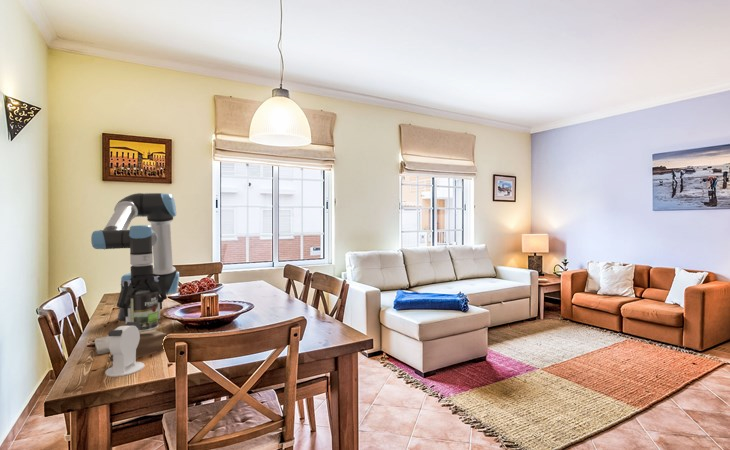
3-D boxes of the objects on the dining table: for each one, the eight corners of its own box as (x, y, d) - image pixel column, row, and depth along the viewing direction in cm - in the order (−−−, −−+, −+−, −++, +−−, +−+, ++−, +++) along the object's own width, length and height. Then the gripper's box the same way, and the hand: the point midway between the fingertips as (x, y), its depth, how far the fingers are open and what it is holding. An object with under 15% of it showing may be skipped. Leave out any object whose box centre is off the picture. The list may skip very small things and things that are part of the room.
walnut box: (120, 352, 145) (120, 336, 145) (152, 343, 155) (152, 328, 155) (134, 358, 138) (134, 342, 138) (167, 349, 148) (167, 333, 148)
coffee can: (164, 325, 150) (163, 290, 150) (144, 333, 140) (143, 295, 140) (142, 323, 152) (141, 289, 152) (121, 331, 142) (120, 295, 142)
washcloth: (127, 337, 163) (126, 330, 162) (133, 349, 149) (133, 341, 149) (93, 344, 155) (93, 336, 155) (97, 356, 141) (96, 348, 141)
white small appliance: (120, 362, 135) (119, 321, 134) (152, 361, 135) (150, 320, 134) (97, 376, 123) (95, 331, 122) (131, 376, 123) (130, 331, 122)
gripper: (112, 269, 134) (114, 330, 135) (175, 262, 152) (177, 316, 153) (104, 267, 139) (106, 326, 139) (166, 261, 157) (167, 313, 158)
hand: (143, 321), depth 146 cm, fingers closed on coffee can, 10 cm apart
